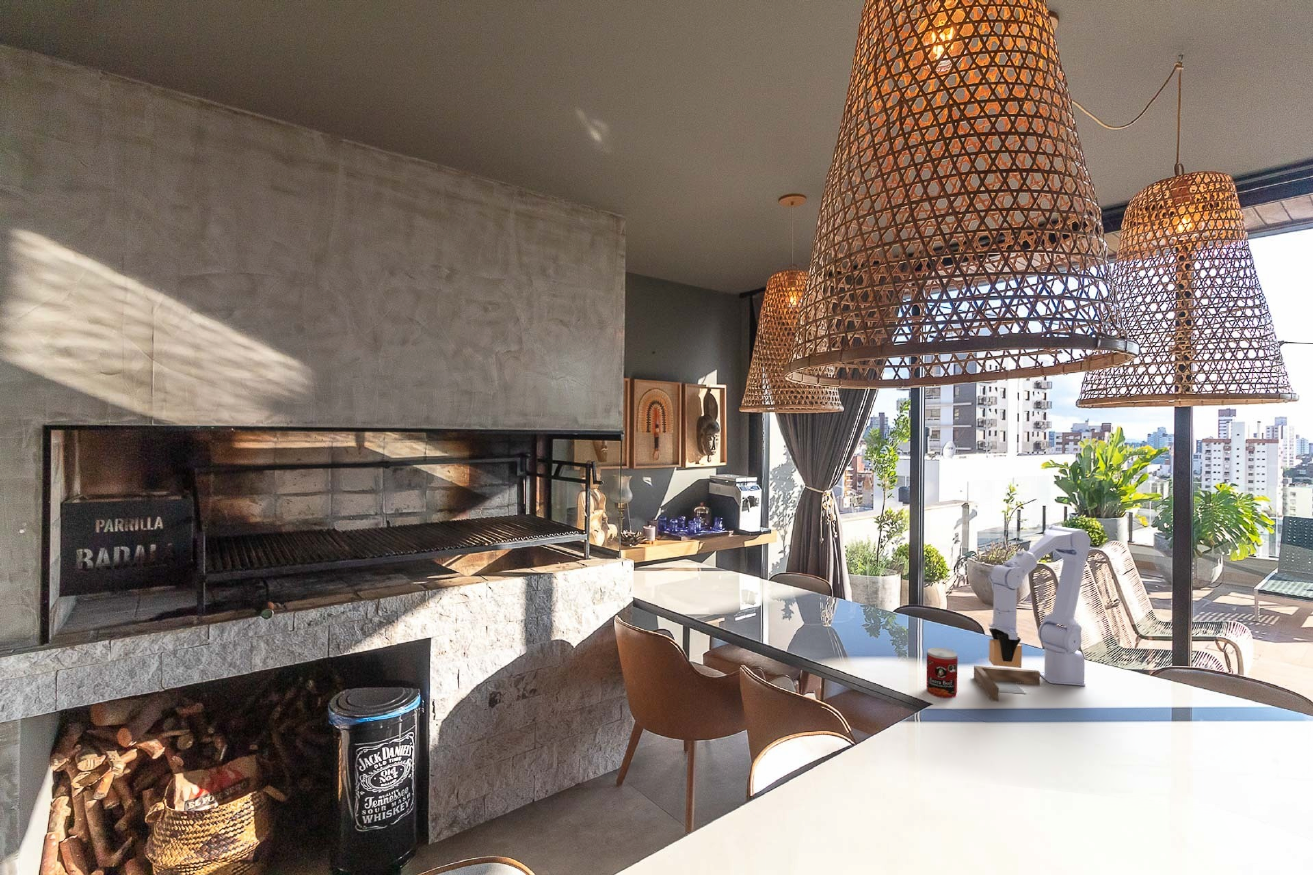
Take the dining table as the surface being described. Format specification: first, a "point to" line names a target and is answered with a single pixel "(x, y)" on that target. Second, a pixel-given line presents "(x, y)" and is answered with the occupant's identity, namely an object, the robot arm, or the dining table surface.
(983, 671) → the arena
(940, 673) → the canned food
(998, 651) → the block
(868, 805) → the dining table surface
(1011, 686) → the pad
